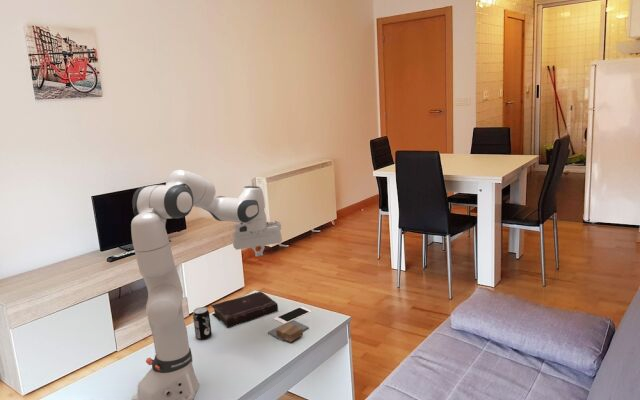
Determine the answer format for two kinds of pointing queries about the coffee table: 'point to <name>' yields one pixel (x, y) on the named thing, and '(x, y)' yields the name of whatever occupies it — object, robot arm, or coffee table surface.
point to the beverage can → (202, 323)
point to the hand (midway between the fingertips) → (259, 255)
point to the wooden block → (289, 332)
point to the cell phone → (292, 315)
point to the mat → (293, 322)
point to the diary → (244, 309)
